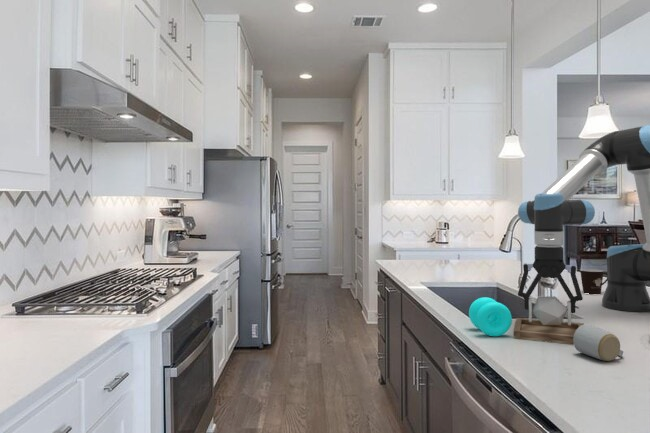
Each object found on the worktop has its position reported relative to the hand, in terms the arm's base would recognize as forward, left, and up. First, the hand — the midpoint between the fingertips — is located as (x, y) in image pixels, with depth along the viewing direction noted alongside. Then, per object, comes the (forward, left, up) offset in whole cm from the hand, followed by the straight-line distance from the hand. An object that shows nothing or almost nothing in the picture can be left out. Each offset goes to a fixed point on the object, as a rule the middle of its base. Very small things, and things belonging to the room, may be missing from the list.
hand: (549, 322), depth 127 cm
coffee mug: (-19, -75, -4) cm, 77 cm away
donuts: (+16, +5, -4) cm, 17 cm away
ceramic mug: (-11, +16, -4) cm, 20 cm away
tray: (0, 0, -3) cm, 3 cm away
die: (0, 0, -1) cm, 1 cm away
